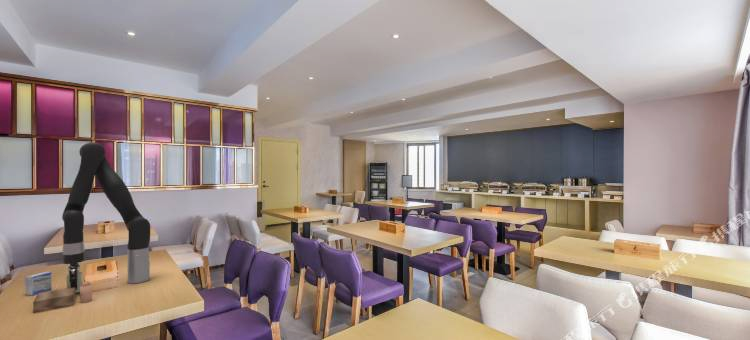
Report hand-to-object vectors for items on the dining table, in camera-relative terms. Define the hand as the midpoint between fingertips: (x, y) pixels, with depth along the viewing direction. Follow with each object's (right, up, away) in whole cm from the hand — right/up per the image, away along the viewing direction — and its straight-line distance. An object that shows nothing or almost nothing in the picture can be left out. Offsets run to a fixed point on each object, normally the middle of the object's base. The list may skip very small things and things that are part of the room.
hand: (74, 288), depth 155 cm
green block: (0, -1, 0) cm, 1 cm away
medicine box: (-19, -3, +2) cm, 19 cm away
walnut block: (+3, -3, -13) cm, 13 cm away
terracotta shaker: (+13, -3, -9) cm, 16 cm away
